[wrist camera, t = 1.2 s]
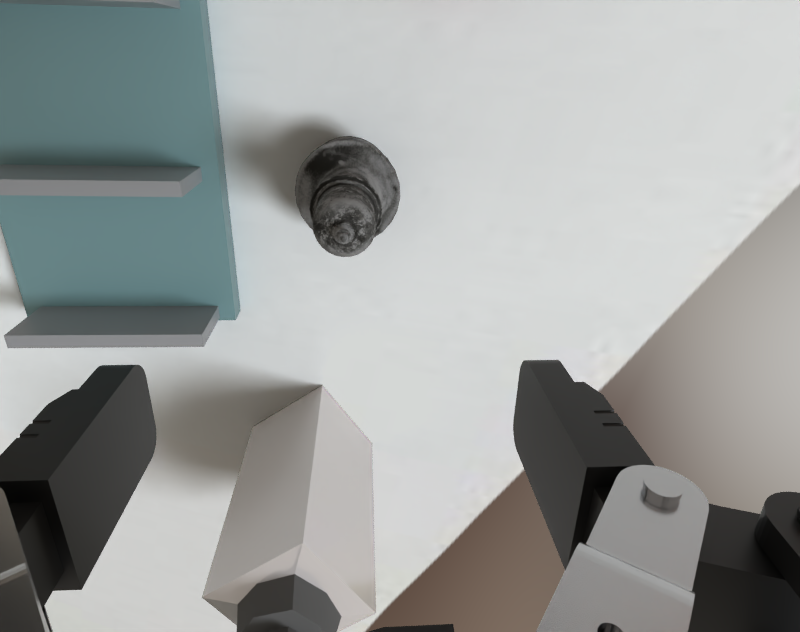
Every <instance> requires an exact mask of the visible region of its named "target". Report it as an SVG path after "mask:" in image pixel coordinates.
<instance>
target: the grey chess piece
mask: <svg viewBox="0 0 800 632" xmlns="http://www.w3.org/2000/svg"><path fill="white" fill-rule="evenodd" d="M295 194H296V201H297V206H298V208H299V210H300V213H301V215H302V217H303V219H304V220H305V221H306V223H307V224H308V225H309V227H310V228H311V229H313V231H314V235H315V237H316V239H317V241H318V242H319V244H320V245H321V246H322V248H324V249H325V250H326V251H328V252H329V253H331V254H334V255H336V256H341V257H350V256H354V255H357V254H359V253H361V252H363V251H364V250H365V249H366V248H367V247H368V246H369V245H370V244H371V242H372V240H373V238H374V237H375V236H377V235H379V234H380V233H382V232H383V231H384V230H385V229H386V227H387V226H388V225H389V224H390V223H391V222H392V220H393V218H394V216H395V214H396V212H397V209H398V205H399V200H400V185H399V181H398V178H397V175H396V171H395V169H394V168H393V166H392V165H391V163H390V162H389V160H388V158H386V157H385V156H384V155H383V154H382V152H381V151H380V150H379V149H378V148H377V147H375V146H374V145H373V144H372V143H370V142H368V141H366V140H364V139H361V138H356V137H339V138H336V139H333V140H330V141H328V142H327V143H325V144H324V145H322V146H320V147H319V148H317V149H316V150H315V151H313V152H312V153H311V154H310V155H309V156H308V158H307V159H306V160H305V161H304V162H303V164H302V166H301V168H300V171H299V173H298V175H297V180H296V187H295Z"/></svg>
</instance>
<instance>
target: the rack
mask: <svg viewBox="0 0 800 632" xmlns="http://www.w3.org/2000/svg"><path fill="white" fill-rule="evenodd" d="M0 224H1V227H2V231H3V234H4V238H5V241H6V245H7V248H8V251H9V255H10V258H11V262H12V265H13V269H14V272H15V275H16V279H17V282H18V286H19V289H20V293H21V296H22V299H23V303H24V306H25V310H26V313H27V318H26V319H24V320H23V321H22V322H21V323H19V324H18V325H17V326H16V327H14V328H13V329H12V330H10V331H9V332H8V333H7V334H5V335H4V337H5V341H6V344H7V347H8V348H81V347H204V345H205V344H206V342H207V340H208V338H209V336H210V334H211V333H212V331H213V329H214V327H215V325H216V323H217V322H218V320H236V318H237V316H238V314H239V312H240V303H239V294H238V284H237V275H236V266H235V257H234V248H233V238H232V229H231V220H230V211H229V202H228V193H227V183H226V174H225V165H224V156H223V147H222V138H221V128H220V119H219V110H218V101H217V92H216V82H215V73H214V64H213V55H212V46H211V37H210V27H209V18H208V9H207V0H0Z"/></svg>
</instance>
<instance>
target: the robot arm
mask: <svg viewBox="0 0 800 632" xmlns="http://www.w3.org/2000/svg"><path fill="white" fill-rule="evenodd" d="M513 431H514V441H515V446H516V449H517V452H518V454H519V457H520V459H521V462H522V464H523V467H524V469H525V472H526V474H527V476H528V479H529V482H530V484H531V487H532V489H533V491H534V494H535V496H536V499H537V501H538V504H539V506H540V509H541V511H542V514H543V516H544V519H545V521H546V524H547V526H548V529H549V531H550V533H551V536H552V538H553V541H554V543H555V546H556V548H557V551H558V553H559V556H560V558H561V561H562V563H563V566H564V568H565V572H564V575H563V576H562V578H561V581H560V583H559V585H558V587H557V589H556V591H555V593H554V595H553V597H552V600H551V602H550V604H549V606H548V608H547V610H546V612H545V614H544V616H543V619H542V621H541V623H540V625H539V627H538V629H537V631H536V632H800V493H797V492H780V493H775V494H773V495H771V496H769V497H768V498H767V500H766V501H765V504H764V506H763V509H762V511H761V514H756V513H751V512H746V511H741V510H736V509H731V508H726V507H721V506H717V505H712V504H709V503H708V500H707V498H706V496H705V495H704V494H703V492H702V491H701V490H700V489H699V488H698V487H697V486H696V485H695V484H694V483H693V482H691V481H690V480H689V479H687V478H685V477H684V476H682V475H680V474H678V473H676V472H673V471H671V470H668V469H665V468H662V467H657V466H655V465H654V464H653V463H652V461H651V460H650V458H649V457H648V456H647V454H646V453H645V452H644V450H643V449H642V448H641V446H640V445H639V443H638V442H637V441H636V439H635V438H634V437H633V435H632V434H631V433H630V431H629V430H628V428H627V427H626V426H624V425H623V422H622V420H621V419H620V417H619V416H618V415H617V414H616V413H614V409H613V408H612V407H611V405H610V404H609V403H608V401H607V400H606V399H605V397H604V396H603V395H602V394H601V393H599V392H598V391H596V390H595V389H593V388H592V387H590V386H589V385H588V384H586V383H585V382H574V381H573V380H572V378H571V377H570V375H569V374H568V372H567V371H566V369H565V368H564V366H563V365H562V363H561V362H560V361H559V360H525V361H523V362H522V365H521V368H520V374H519V382H518V390H517V398H516V406H515V414H514V424H513ZM155 445H156V426H155V421H154V415H153V410H152V405H151V400H150V395H149V390H148V385H147V380H146V375H145V372H144V370H143V368H142V367H141V366H140V365H103V366H99V367H98V368H97V369H96V370H95V371H94V372H93V373H92V375H91V376H90V377H89V378H88V379H87V380H86V381H85V383H84V384H83V385H82V386H81V387H80V388H79V389H78V390H71V391H69V392H67V393H66V394H64V395H62V396H61V397H59V398H57V399H56V400H54V401H52V402H51V403H49V404H48V405H47V406H46V407H45V408H44V409H43V410H42V411H41V412H40V413H39V415H38V416H37V417H36V418H35V419H34V420H33V424H29V425H28V426H27V427H26V429H25V430H24V431H23V432H22V433H21V434H20V438H16V439H15V440H14V441H13V443H12V444H11V445H10V446H9V447H8V448H7V449H6V450H5V451H4V452H3V453H2V454H1V456H0V632H53V630H52V627H51V624H50V621H49V617H48V614H47V612H46V609H45V606H44V605H45V603H46V602H47V600H48V598H49V596H50V595H51V593H52V591H57V590H82V588H83V586H84V584H85V582H86V580H87V578H88V577H89V575H90V573H91V571H92V569H93V567H94V565H95V564H96V562H97V560H98V558H99V556H100V554H101V552H102V550H103V549H104V547H105V545H106V543H107V541H108V539H109V537H110V535H111V534H112V532H113V530H114V528H115V526H116V524H117V522H118V520H119V519H120V517H121V515H122V513H123V511H124V509H125V507H126V506H127V504H128V502H129V500H130V498H131V496H132V494H133V492H134V491H135V489H136V487H137V485H138V483H139V481H140V479H141V477H142V476H143V474H144V472H145V470H146V468H147V466H148V464H149V462H150V461H151V459H152V457H153V454H154V450H155ZM370 632H454V628H453V624H445V625H425V626H424V625H423V626H403V627H383V628H380V629H376V630H373V631H370Z"/></svg>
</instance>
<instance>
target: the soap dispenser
mask: <svg viewBox="0 0 800 632" xmlns="http://www.w3.org/2000/svg"><path fill="white" fill-rule="evenodd" d="M202 598H203V599H205V600H206V601H207V602H208V603H210V604H211V605H212V606H213V607H215V608H216V609H217V610H218V611H220V612H221V613H222V614H223V615H225V616H226V617H227V618H228V619H229V620H231V621H232V622H233V623H234V624H236V625H237V632H339V631H341V630H343V629H345V628H347V627H349V626H351V625H353V624H355V623H357V622H359V621H361V620H363V619H365V618H367V617H369V616H371V615H373V614H375V613H376V591H375V545H374V500H373V454H372V442H371V441H370V440H369V439H368V438H367V437H366V435H365V434H364V433H363V432H362V431H361V430H360V428H359V427H358V426H357V425H356V424H355V422H354V421H353V420H352V419H351V418H350V417H349V415H348V414H347V413H346V412H345V411H344V410H343V408H342V407H341V406H340V405H339V404H338V403H337V401H336V400H335V399H334V398H333V397H332V396H331V394H330V393H329V392H328V391H327V390H326V389H325V387H324V386H323V385H322V386H320V387H318V388H317V389H315V390H314V391H312V392H310V393H309V394H307V395H305V396H304V397H302V398H300V399H299V400H297V401H295V402H294V403H292V404H290V405H289V406H287V407H285V408H284V409H282V410H280V411H279V412H277V413H275V414H274V415H272V416H270V417H269V418H267V419H265V420H264V421H262V422H260V423H259V424H257V425H255V426H254V427H252V431H251V434H250V438H249V441H248V444H247V448H246V451H245V454H244V458H243V461H242V464H241V468H240V471H239V474H238V478H237V481H236V485H235V488H234V491H233V495H232V498H231V501H230V505H229V508H228V511H227V515H226V518H225V521H224V525H223V528H222V531H221V535H220V538H219V542H218V545H217V548H216V552H215V555H214V558H213V562H212V565H211V568H210V572H209V575H208V578H207V582H206V585H205V589H204V592H203V595H202Z"/></svg>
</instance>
